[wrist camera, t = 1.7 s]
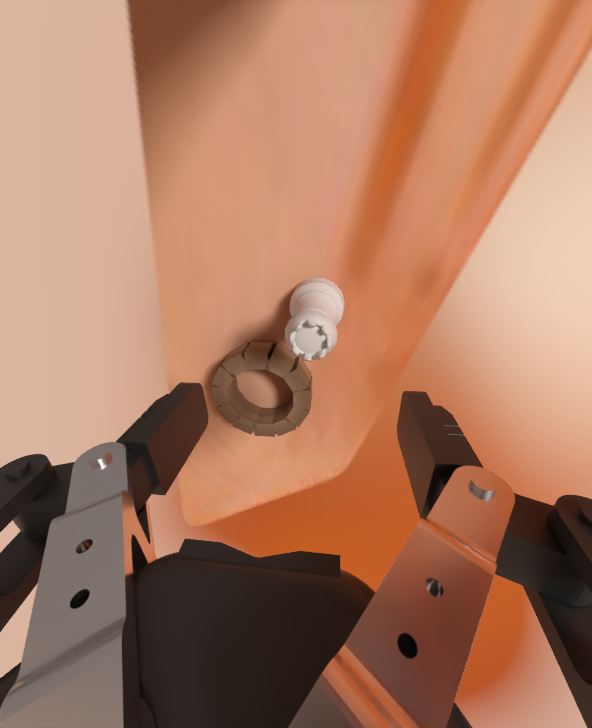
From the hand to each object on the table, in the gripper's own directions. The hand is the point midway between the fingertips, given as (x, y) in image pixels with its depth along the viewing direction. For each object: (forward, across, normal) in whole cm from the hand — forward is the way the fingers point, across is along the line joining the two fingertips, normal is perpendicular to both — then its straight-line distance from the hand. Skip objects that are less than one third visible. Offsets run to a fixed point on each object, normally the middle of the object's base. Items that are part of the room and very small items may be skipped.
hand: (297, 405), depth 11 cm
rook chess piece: (+14, 0, 0) cm, 14 cm away
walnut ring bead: (+14, +5, +8) cm, 17 cm away
